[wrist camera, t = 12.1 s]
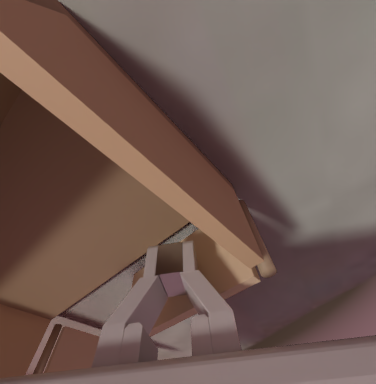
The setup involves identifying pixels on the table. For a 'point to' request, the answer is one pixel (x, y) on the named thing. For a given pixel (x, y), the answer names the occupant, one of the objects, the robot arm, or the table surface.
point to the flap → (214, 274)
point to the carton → (87, 175)
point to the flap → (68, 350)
